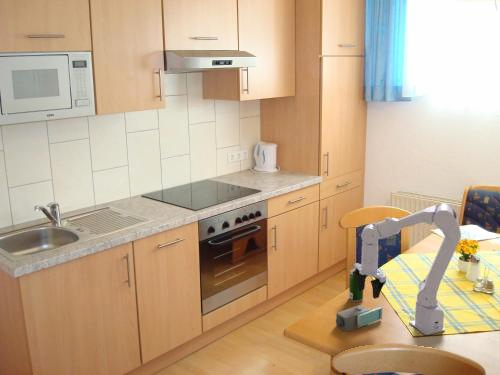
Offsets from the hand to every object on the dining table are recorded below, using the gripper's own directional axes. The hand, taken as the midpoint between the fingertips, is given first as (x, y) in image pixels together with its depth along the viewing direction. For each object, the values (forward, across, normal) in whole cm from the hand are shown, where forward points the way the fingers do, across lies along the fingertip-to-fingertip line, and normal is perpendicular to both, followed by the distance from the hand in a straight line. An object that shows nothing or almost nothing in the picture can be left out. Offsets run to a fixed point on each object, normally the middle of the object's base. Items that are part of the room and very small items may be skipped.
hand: (368, 293), depth 194 cm
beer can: (+10, -14, +7) cm, 18 cm away
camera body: (+9, +1, -8) cm, 13 cm away
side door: (+9, +4, -3) cm, 10 cm away
